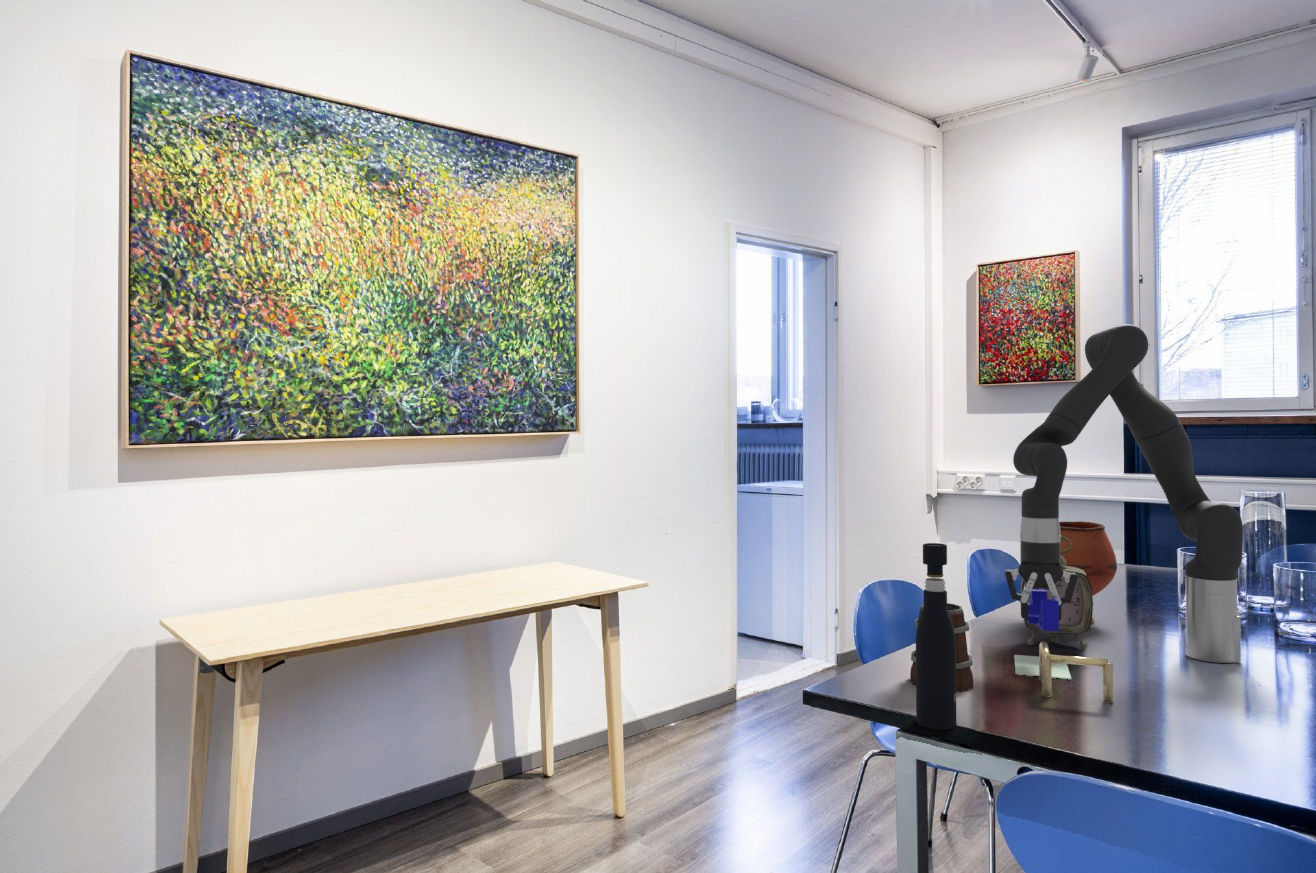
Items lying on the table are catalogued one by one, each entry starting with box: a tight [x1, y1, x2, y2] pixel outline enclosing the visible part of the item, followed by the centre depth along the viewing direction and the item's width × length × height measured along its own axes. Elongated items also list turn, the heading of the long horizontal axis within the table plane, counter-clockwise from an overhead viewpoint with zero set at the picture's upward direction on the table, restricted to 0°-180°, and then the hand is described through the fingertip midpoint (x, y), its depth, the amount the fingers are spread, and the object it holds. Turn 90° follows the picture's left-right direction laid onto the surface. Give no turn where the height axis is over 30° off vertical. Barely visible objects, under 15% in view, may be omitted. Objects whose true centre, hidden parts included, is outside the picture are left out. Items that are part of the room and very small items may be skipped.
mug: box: [909, 602, 974, 692], centre depth 164 cm, size 16×12×15 cm
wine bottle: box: [915, 542, 958, 731], centre depth 140 cm, size 6×6×30 cm
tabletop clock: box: [1019, 536, 1094, 650], centre depth 190 cm, size 14×9×25 cm, turn 68°
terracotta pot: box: [1059, 520, 1118, 625], centre depth 213 cm, size 19×19×25 cm
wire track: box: [1038, 641, 1114, 704], centre depth 157 cm, size 12×12×8 cm
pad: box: [1013, 654, 1072, 681], centre depth 172 cm, size 10×15×1 cm, turn 158°
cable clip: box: [1027, 590, 1059, 631], centre depth 173 cm, size 12×4×6 cm, turn 166°
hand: (1040, 621), depth 172 cm, fingers closed on cable clip, 5 cm apart
